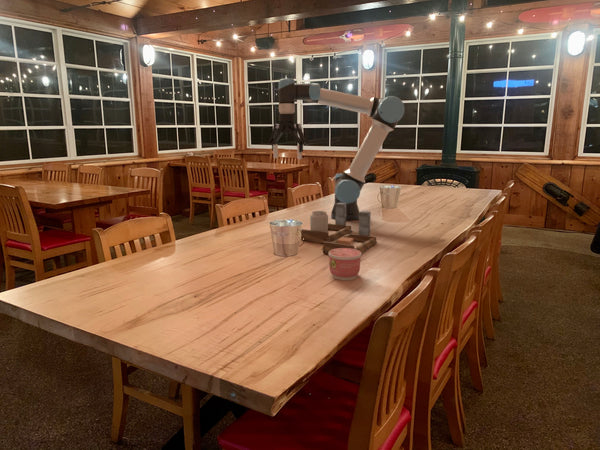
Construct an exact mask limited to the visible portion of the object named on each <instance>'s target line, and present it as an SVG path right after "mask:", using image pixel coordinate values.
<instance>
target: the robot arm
mask: <svg viewBox="0 0 600 450" xmlns="http://www.w3.org/2000/svg"><path fill="white" fill-rule="evenodd" d="M277 89H278V91H277V92H278V93H277V94H278V113H279V114H278V122H279V123H273V128H272V131H271V133H270V137H269V139H268V141H267V142H268V144H270V145H271V151H272V152H273V159H278V156H279V155H278V154H279V153H278V147H279V146H278V142H279V140H280V138H282V136H283V135H284V134H290V135H291V136H292V137H293V139H294V140H295V141H296V143H297V145H296V147H297V149H296V152H297V157H296V158H297V160H302V153H303V152H304V145H305V144H307V143H308V142H307V140H306V137H305V134H304V132H303V129H302V127H301V125H302V124H301V123H295V121H296V114H295V112H296V110H295V109H296V108H295V107H296V106H295V105H296V104H295V101H305V102H308V103H314V104H318V105H324V106H329V107H332V108H337V109H342V110H347V111H351V112H355V113H361V114H365V115H366V116H367V117H370V118H371V126H370V127H369V130H368V132H367V133H366V135H365V137H364V139H363V141H362V143H361V145H360V146H359V148H358V151H357V152H356V154H355V156H354V158H353V160H352V162H351V163H350V166H349V167H348V169H346V170H343V172H342V173H336V174H335V175H334V202H333V207H332V209H331V213H330V217H331V219H334V220H336V204H337V203H346V221H355V220H356V221H357V220H359V212H360V209H359V206H358V199H359V198H360V195H361V191H362V189H363V187H364V185H365V183H366V180H365V177H366V175H367V172H369V169H370V168H371V165H372V163H373V162H374V160H375V158H376V157H377V154H378V153H379V151H380V149H381V147H382V146H383V143H384V141H385V140H386V138H387V136H388V135H389V133H390V132H392V131H394V130H395V128H396V127H397V124H398V122H399V121H400V120H401V119H402V118H403V116H404V115H405V104H404V102H403V100H402V99H401V98H399V97H397V96H395V95H388V96H385V97H376V96H373V97H371V98H369V97H365V96H362V95H361V96H360V95H356V94H351V93H346V92H341V91H336V90H332V89H328V88H327V89H326V88H323V87H321V84H320V83H317V82H316V83H315V82H311V83H310V82H308V83H307V82H306V83H305V82H304V83H303V82H301V83H298V82H297V83H296V81H295V79H294V78H280V79H279V80H278V88H277ZM295 129H296V130H295Z"/></svg>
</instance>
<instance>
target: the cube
mask: <svg viewBox="0 0 600 450" xmlns="http://www.w3.org/2000/svg"><path fill="white" fill-rule="evenodd" d="M337 239H338V243H340V244H347V245H354V240H353V239H354V238H346V237H343V236H341V237H339V238H337Z"/></svg>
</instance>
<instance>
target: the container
mask: <svg viewBox="0 0 600 450" xmlns="http://www.w3.org/2000/svg"><path fill="white" fill-rule="evenodd" d="M328 257H329V259H328V262H329V263H328V264H329V270H330V273H331V274H332V275H331V276H332V278H334V279H336V280H339V279H340V281H351V279H352V280H354V279H356V278H357V275H359V273H360V269H361V257H362V252H360V251H358V250H356V249H351V248H337V249H332V250H330V251H329V254H328Z"/></svg>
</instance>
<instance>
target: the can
mask: <svg viewBox="0 0 600 450" xmlns="http://www.w3.org/2000/svg"><path fill="white" fill-rule="evenodd" d="M327 213H328V212H327V211H324V210H315V211H312V212H311V214H310V218H309V220H310V221H309V223H310V225H309V226H310V227H309V228H310V229H309V230H313V231H320V232H328V233H329V229H328V223H329V215H328V214H327Z"/></svg>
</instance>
